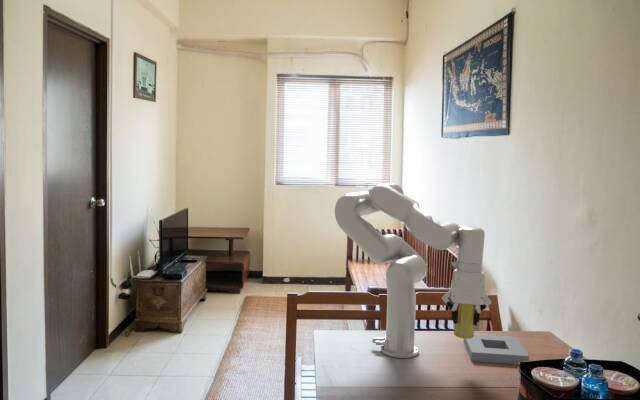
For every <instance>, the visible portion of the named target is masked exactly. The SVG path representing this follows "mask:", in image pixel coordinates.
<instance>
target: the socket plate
mask: <svg viewBox="0 0 640 400" xmlns="http://www.w3.org/2000/svg"><path fill="white" fill-rule="evenodd" d="M463 343H464V346H465V348H466V349H465V350H466V351H467V354H468V357H469V359H470V362H478V363H492V364H493V363H494V364H509V365H519V364H518V363H519V362H523V361H530V355H529V354H528V352H527V350H526V349H525V348H524V346H523V345H522V343H521V342H520V341H519V339H518V338H517V336H511V335H510V336H509V335H495V334H482V333H481V334H480V333H479V334H478V333H474V337H473V338H470V339H465V338H463Z"/></svg>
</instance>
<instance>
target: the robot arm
mask: <svg viewBox="0 0 640 400" xmlns="http://www.w3.org/2000/svg"><path fill="white" fill-rule="evenodd" d="M377 212H383V213H384V214H386V215H388V216H389V217H391V218H393V219H394V220H395V221H397V222H398V223H401V224H402V225H404V227H405V228H406V230H407V231H408V232H410V234H412V236H413V237H415V238H416V239H417V240H419V241H421V242H422V243H424V244H426V245H427V246H429V247H431V248H432V249H435V250H438V251H444V250H448V249H450V248H454V247H457V258H456V261H451V267H454V268H455V269H454V270H453V274H452V277H451V282H450V283H451V284H450V289H449V290H448V291H447V292H446V293H445V294H443V295H442V297H441V300H442V301H443V302H444V303H445V304H446V305H447V306H448V308H449V309H450V310H451V315H450V320H451V321H452V322H453V324H454V325H455V324H456V321H457V306H458V304H470V305H475V317H474V327H475V326H478V323H480V314H481V313H482V312H483V311H484V310H486V308H487V307H489V306H490V305H492V300H491V299H490V298H489V296H488V295H487V294H486V279H485V278H486V276H485V273H484V271H482V269H483V261H484V260H483V257H484V248H485V247H484V245H485V230H484V229H483V228H482V227H481V228H480V227H477V226H466V225H462V224H459V223H455V222H447V223H442V224H439V223H437V222H435V221H433V220H432V219H430V218H429V217H427V216H425V215H424V213H422V212H421V210H420V204H419V203H418V202H417V201H416V200H414V199H413V198H411V197H409V196H407V195H405V193H404V190H403V188H402V187H401V186H400V185H398V184H397V183H396V182H395V183H394V182H386V183H378V184H376V185H374V186H373V187H372V188H371V189H367V190H363V191H356V192H347V193H345V194H343V195H341V196H340V197H339V198H338V199H337V200H336V202H335V205H334V216H335V220H336V223H337V225H338V227H339V228H340V229H341V230H342V232H344V233H345V235H346V236H347V237H348V238H349V239H351V240H352V241H353V242H354V243H355V245H357V247H359V249H360V250H361V251H362V252H363V253H365V255H366V256H367V257H368V258H369V259H370V261H372V262H373V263H375V264H376V265H385V264H388V263H390V264H389V265H388V267H387V269H386V271H385V284H386V294H387V295H386V299H387V300H386V320H385V321H386V325H385V326H386V327H385V334H384V336H381V337H375V336H373V337H372V339H371V342H372V344H375V345H376V346H380V351H381V353H383V354H384V355H386V356H388V357H392V358H395V359H396V358H397V359H410V358H414V357H416V356H418V355H419V352H420V351H419V348H418V347H417V346H416V345H415V333H416V332H415V330H416V312H417V311H416V309H417V296H416V290H415V285H416V284H417V283H419V282H421V281H422V280H424V278H426V276H427V273H428V266H427V264H426V261H425V260H424V258H423V257H422V256H421V255H420V254H419V253H418V252H417V251H416V250H415V249H414V248H413V247H412V246H410V244H408V243H407V242H406V241H405V239H403V238H402V237H400V236H399V235H397V234H394V233H387V234H383V233H381V232H380V231H378V230H377V229H376V227H375V226H374V225H373V224H371V223H370V222H369V221H367V220H366V219H364V218H363V217H362V216H367V215H371V214H374V213H377ZM449 298H450V300H451V301H450V300H449Z"/></svg>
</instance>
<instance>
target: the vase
mask: <svg viewBox="0 0 640 400" xmlns="http://www.w3.org/2000/svg"><path fill="white" fill-rule="evenodd" d="M475 309H476V308H475V305H470V304H458V306H457V308H456V310H457V321H456V324H454V331H453V335H454V336H455V337H458V338H461V339H464V338H465V339H470V338H473V337H474V334H475V325H474V317H475Z"/></svg>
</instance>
